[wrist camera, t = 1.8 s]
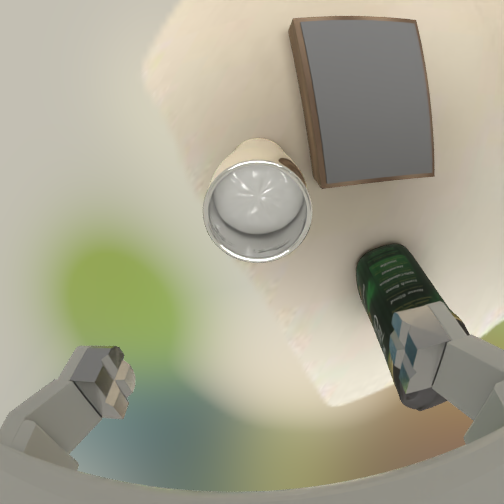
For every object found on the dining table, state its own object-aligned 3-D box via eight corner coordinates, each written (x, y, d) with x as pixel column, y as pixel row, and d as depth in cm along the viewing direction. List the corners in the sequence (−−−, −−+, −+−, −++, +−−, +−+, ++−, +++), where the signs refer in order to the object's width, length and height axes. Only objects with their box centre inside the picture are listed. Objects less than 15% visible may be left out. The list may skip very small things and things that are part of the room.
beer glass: (223, 135, 30) (193, 160, 17) (291, 132, 30) (316, 154, 17) (228, 199, 33) (206, 268, 20) (292, 196, 33) (314, 264, 20)
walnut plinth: (395, 29, 24) (417, 19, 19) (413, 165, 31) (436, 177, 26) (288, 31, 25) (293, 17, 20) (313, 176, 32) (322, 189, 27)
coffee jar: (347, 254, 36) (402, 370, 19) (406, 234, 35) (488, 332, 18) (360, 313, 40) (402, 426, 23) (412, 295, 39) (471, 396, 22)
